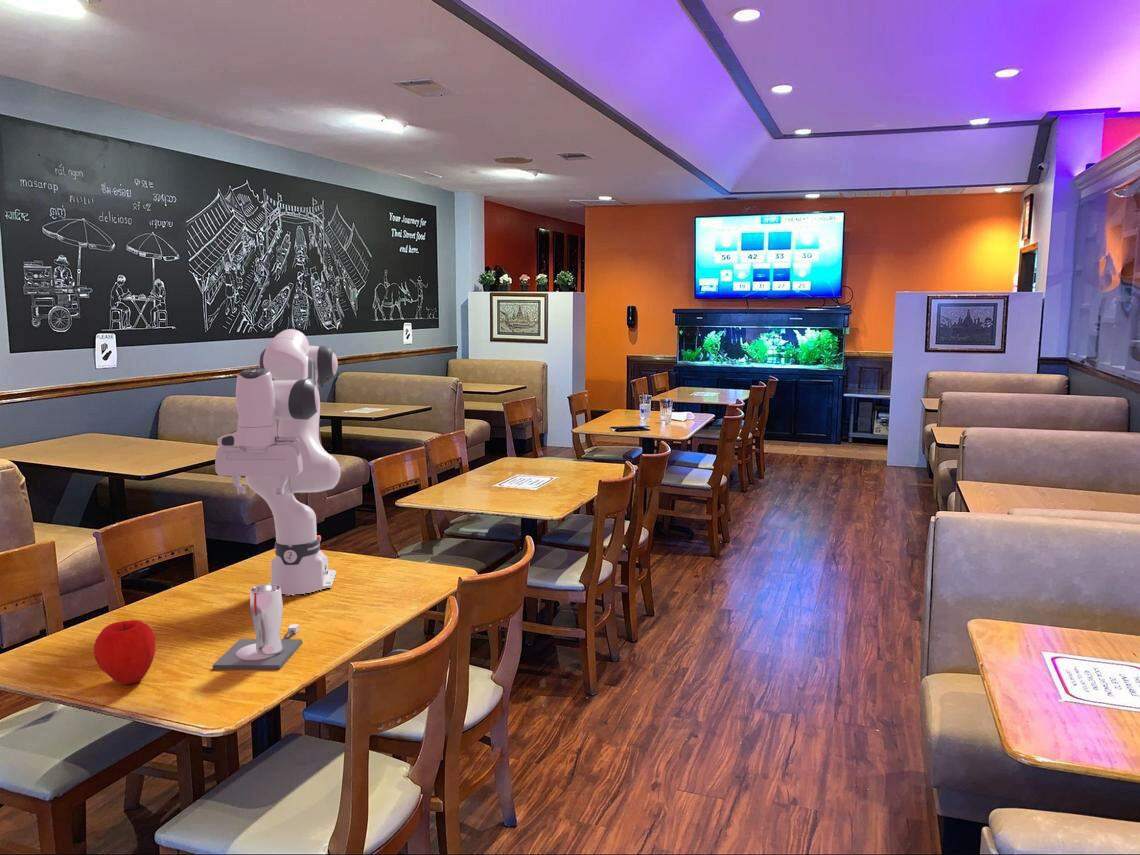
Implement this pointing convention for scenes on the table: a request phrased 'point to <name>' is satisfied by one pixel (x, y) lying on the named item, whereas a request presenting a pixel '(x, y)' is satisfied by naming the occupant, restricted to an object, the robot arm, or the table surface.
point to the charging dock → (246, 657)
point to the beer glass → (267, 618)
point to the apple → (125, 650)
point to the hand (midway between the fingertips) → (261, 493)
